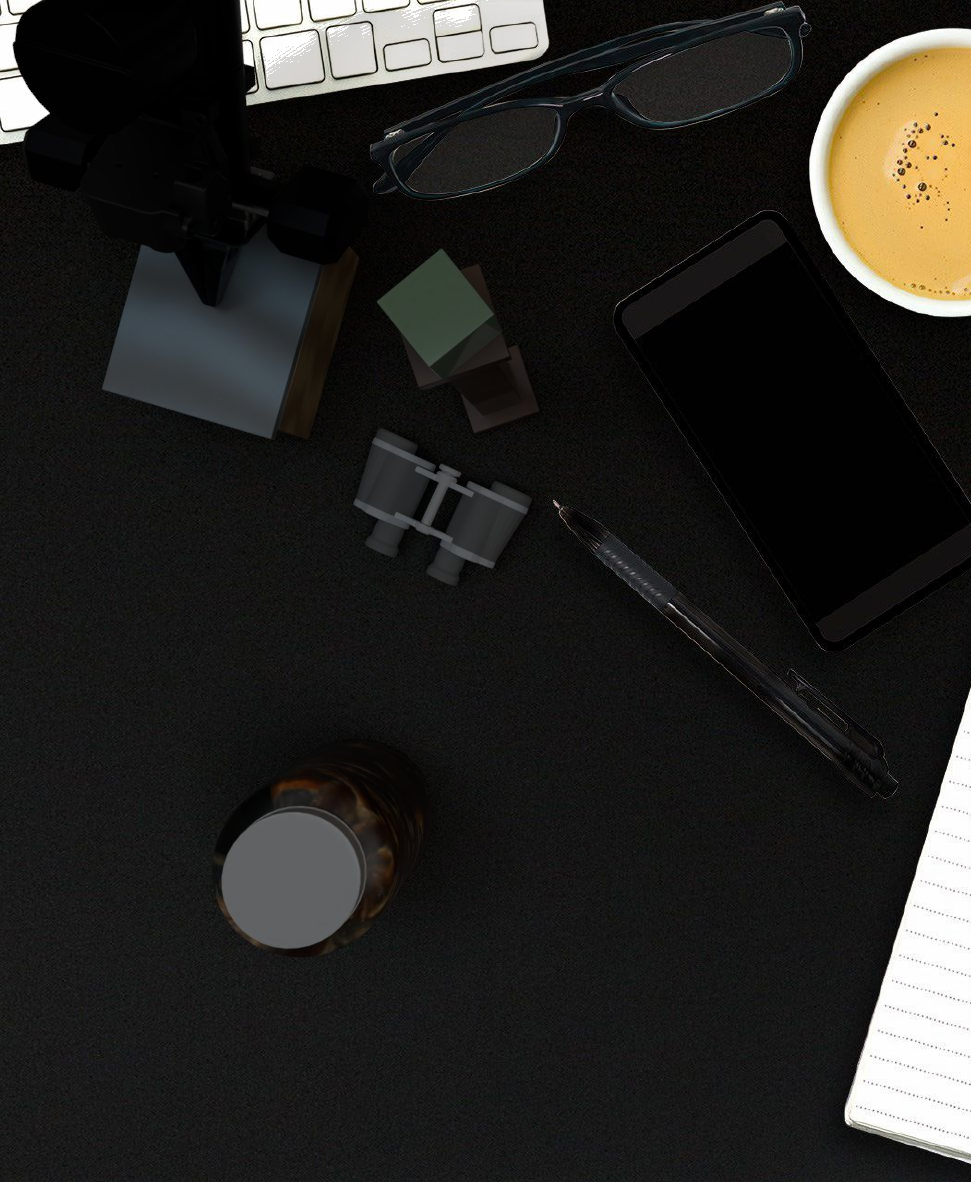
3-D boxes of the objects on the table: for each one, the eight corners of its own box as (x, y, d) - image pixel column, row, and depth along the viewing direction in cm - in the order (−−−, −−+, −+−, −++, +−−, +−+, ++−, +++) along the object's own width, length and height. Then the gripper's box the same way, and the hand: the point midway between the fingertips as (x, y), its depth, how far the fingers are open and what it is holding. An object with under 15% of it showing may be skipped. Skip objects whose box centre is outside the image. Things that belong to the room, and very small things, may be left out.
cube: (393, 319, 54) (376, 301, 50) (454, 270, 54) (441, 247, 50) (442, 381, 54) (428, 367, 50) (503, 331, 54) (494, 314, 50)
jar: (296, 719, 77) (219, 759, 62) (450, 760, 77) (410, 810, 62) (257, 873, 78) (172, 950, 63) (410, 914, 78) (361, 1001, 63)
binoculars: (534, 499, 76) (531, 496, 73) (488, 599, 77) (482, 602, 73) (384, 429, 76) (373, 423, 73) (339, 530, 77) (325, 529, 73)
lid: (274, 440, 70) (271, 439, 69) (107, 391, 70) (101, 389, 69) (334, 228, 69) (331, 224, 68) (165, 179, 69) (160, 174, 68)
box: (308, 440, 76) (278, 429, 70) (156, 395, 77) (111, 380, 70) (360, 257, 76) (334, 228, 69) (206, 212, 76) (165, 179, 69)
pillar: (453, 369, 76) (386, 295, 54) (518, 346, 76) (478, 262, 54) (475, 435, 76) (418, 388, 54) (541, 412, 76) (510, 356, 54)
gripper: (-75, 63, 51) (0, 330, 63) (293, 170, 51) (300, 418, 62) (54, -12, 59) (100, 239, 70) (375, 81, 58) (368, 318, 70)
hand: (212, 303), depth 68 cm, fingers closed
